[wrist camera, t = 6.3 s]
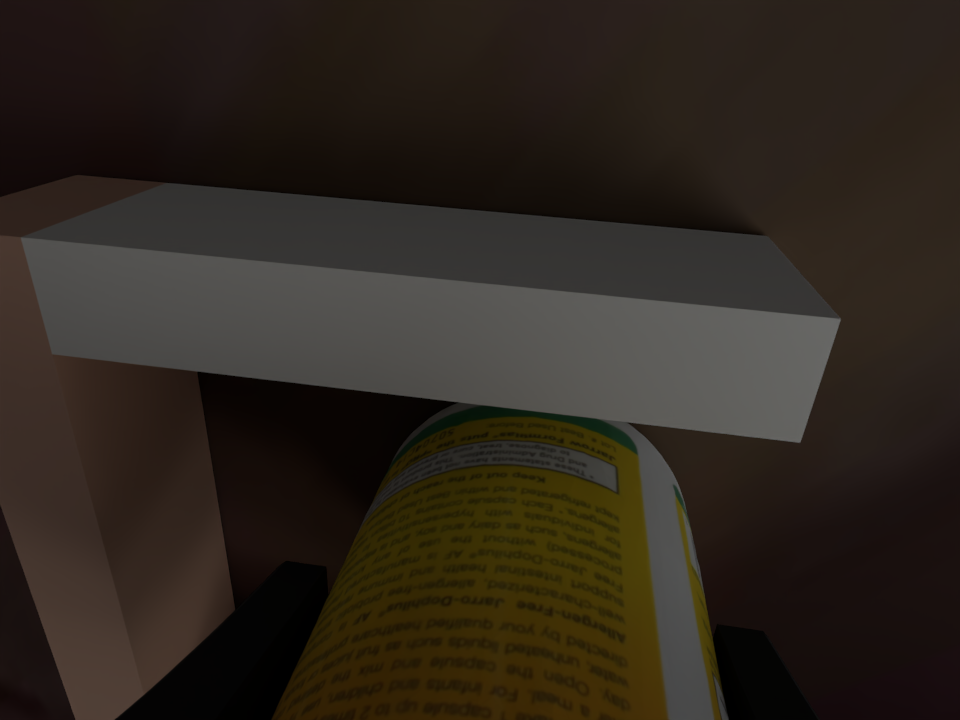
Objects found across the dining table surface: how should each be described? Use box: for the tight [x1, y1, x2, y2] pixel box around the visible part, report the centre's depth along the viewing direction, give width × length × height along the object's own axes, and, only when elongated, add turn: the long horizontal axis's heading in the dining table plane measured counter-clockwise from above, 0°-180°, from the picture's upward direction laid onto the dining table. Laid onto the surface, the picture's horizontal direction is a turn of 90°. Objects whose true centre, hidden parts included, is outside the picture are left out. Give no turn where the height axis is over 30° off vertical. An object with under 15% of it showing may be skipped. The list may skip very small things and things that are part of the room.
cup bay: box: [0, 175, 841, 720], centre depth 11 cm, size 11×10×3 cm
